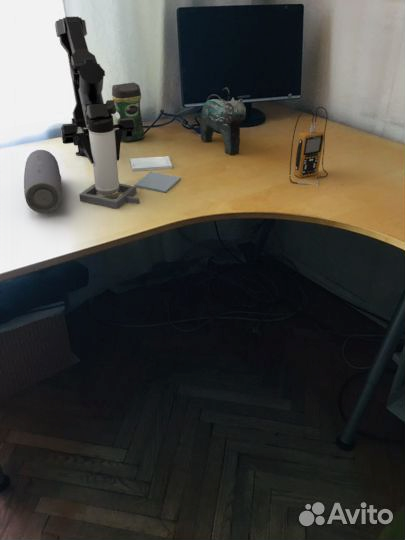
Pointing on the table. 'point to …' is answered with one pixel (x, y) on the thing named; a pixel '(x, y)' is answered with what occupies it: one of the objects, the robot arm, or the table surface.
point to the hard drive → (150, 163)
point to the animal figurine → (223, 121)
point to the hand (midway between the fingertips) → (105, 161)
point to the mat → (157, 182)
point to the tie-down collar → (111, 203)
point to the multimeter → (309, 151)
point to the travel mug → (104, 154)
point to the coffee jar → (128, 106)
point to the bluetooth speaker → (42, 182)
